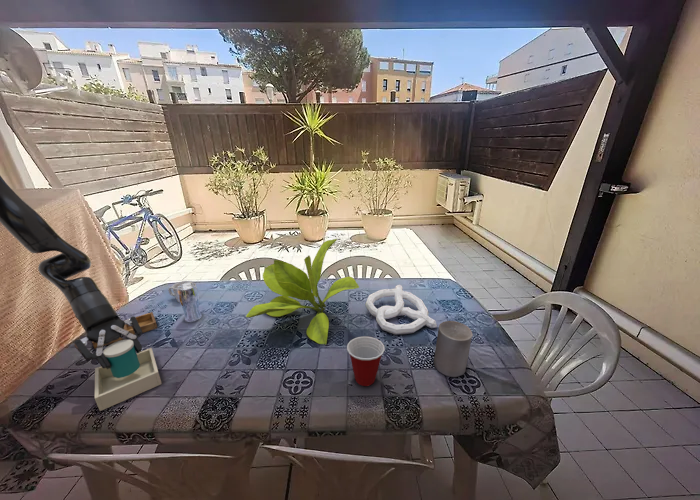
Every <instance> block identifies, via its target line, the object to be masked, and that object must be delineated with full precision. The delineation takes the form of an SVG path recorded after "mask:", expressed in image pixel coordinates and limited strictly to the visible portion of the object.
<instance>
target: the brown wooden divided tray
mask: <svg viewBox="0 0 700 500" xmlns="http://www.w3.org/2000/svg"><path fill="white" fill-rule="evenodd" d="M134 317H135V318H136V320H137V322H138V324H139V326H140V328H141V330H142V334H144V333H147V332H150V331H153V330H156V329H158V324H157V321H156V318H155V315H154V312H153V311H151V312H148V313H145V314H141V315H138V316H134ZM128 319H129V318H128ZM128 319H125V320H128ZM125 320H123V321H125ZM124 330H126V331H129V332H130V333H131V334H135V332H134V330H133V328H132V326H128V325H127V324H125V325H124ZM120 340H124V339H122V338H119V339H117V340H113V341H111V342H110V343H108V344H103V347H104V346H109V345H111V344H112V343H114V342H117V341H120ZM91 343H92V346H93V349H94V350H97V344H98V343H95V342H92V341H91Z"/></svg>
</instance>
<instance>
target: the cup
mask: <svg viewBox="0 0 700 500" xmlns="http://www.w3.org/2000/svg"><path fill="white" fill-rule="evenodd" d="M189 282H192V281H190V280H182V281H179V282H176V283H174V284H172V286H170V287H168V289H167V290H168V294H169V296H171V297H175V300H176V301H177V302H178V303H180V302H179V299H178V294H177V287H178V286H179V285H181V284H184V283H189Z"/></svg>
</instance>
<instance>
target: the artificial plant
mask: <svg viewBox="0 0 700 500" xmlns="http://www.w3.org/2000/svg"><path fill="white" fill-rule="evenodd" d="M337 241H338V238H333V239H329V240H326V241H324V242H323V243H322V244H321V245H320V247H319V248H318V250H317V252H316V254H315V255H314V258H313V260H312V258H311V255H307V256H306V257H305V258H304V259H303V261H304V265H305V268H306V272H307V273H306V272H305V271H303V269H301V268H299V267H297V266H296V265H294V264H293V263H289V262H286V261H283V260H280V259H274V260H273V263H272V264H270V265H267V266H266V267H265V268H264V269H263V273H262V280H263V282H264V284H265V286H266V287H267V288H268V289H269V290H270V291H271V292H272V293H275V294H277V296H276V297H274V298H272V299H271V300H270V301H269V302H265V303H259V304H256V305H254V306H253V307H252V308H251V309H250V310H249V311H248V313H247V314H246V315H245V317H246V318H254V317H258V316H262V315H264V314H266V315H268V316H270V317H277V318H278V317H280V318H281V317H284V316H286V315H289V314H291V313H294V312H295V311H297V310H299V309H308V310H309V309H310V310H312V311H315V312H317V313H316V315H314V316H313V318H312V319H311V320H310V322H309V324H308V326H307V328H306V336H307V337H308V338H309V339H310V341H311V340H312V341H314V342H315V343H316V344H319V345H327V342H328V336H329V335H328V334H329V328H330V321H329V317H328V316H327V315H326V313H325V312H324V311H325V310H326V307H327V305H326V303H325V302H326V301H327V300H329V299H330V298H332V297H333V296H335V295H337V294H339V293H341V292H344V291H347V290H356V289H359V288H360V286H359V284H358V282H357V281H356V280H355V278H354V277H352V276H344V277H341V278H339V279H337V280H335V281H334V282H333V283H332V284H331V286H330V287H329V289H328V291H327V293H326V295H325V296H324V298H323V300H322V299H321V297H320V295H319V294H320V293H319V290H318V289H319V288H318V284H319V281H320V280H321V278H322V277H321V276H322V270H323V265H324V260H325V257H326V254H327V251H328V250H329V249H330V248H331V247H332V246H333V245H334V244H335V243H336V242H337ZM316 298H317V300H318V302H317V301H316ZM298 300H300V301H306V302H307V301H308V302H309V303H310V304H311V305H312V306H311V305H304V304H301V302H299V301H298Z"/></svg>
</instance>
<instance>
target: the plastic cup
mask: <svg viewBox="0 0 700 500" xmlns="http://www.w3.org/2000/svg"><path fill="white" fill-rule="evenodd" d="M346 350H347V353H348V355H349V358H350V361H351V362H350V363H351V366H352V372H353V375H354V380H355V381H356V384H358V385H359V386H362V387H368V386H371V385H373V384H374V383H375V381H376V378H377V374H378V371H379V367H380V362H381V359H382V357H383V355H384V353H385V350H386V349H385V344H384V343H383V342H382V341H381V340H380V339H378V338H377V337H372V336H358V337H355V338H353V339H350V341H349V342H348V343H347V344H346Z"/></svg>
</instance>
